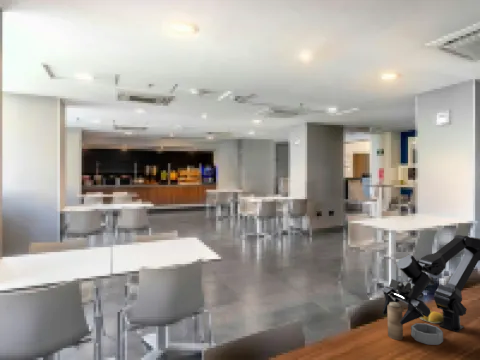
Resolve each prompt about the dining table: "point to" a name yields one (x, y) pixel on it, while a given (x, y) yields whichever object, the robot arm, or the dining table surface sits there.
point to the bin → (427, 334)
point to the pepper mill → (395, 321)
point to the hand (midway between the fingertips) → (391, 318)
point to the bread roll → (433, 317)
